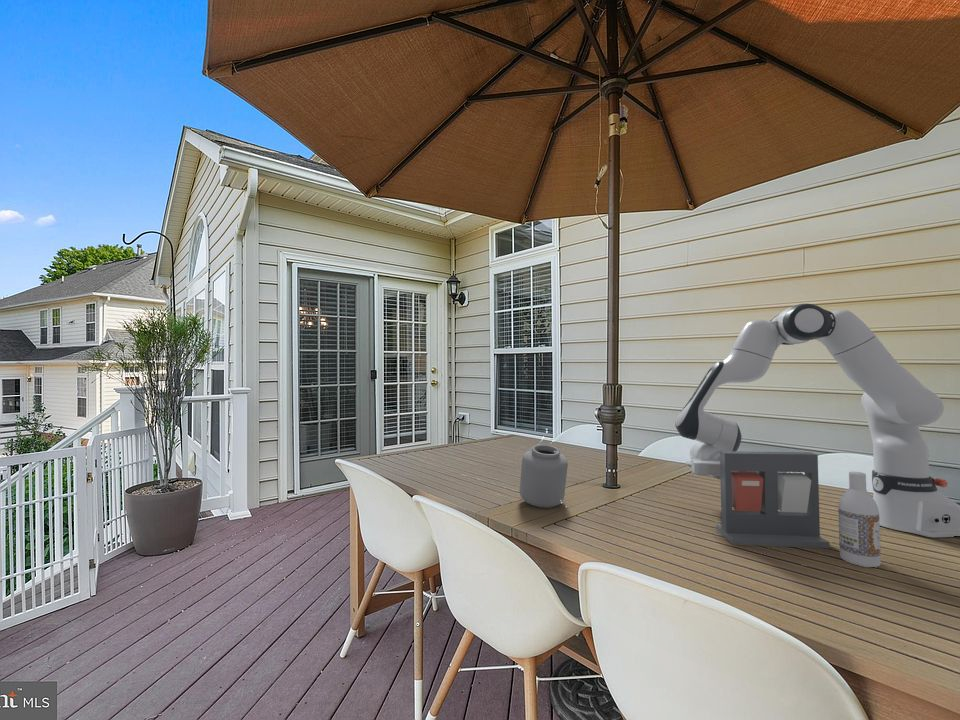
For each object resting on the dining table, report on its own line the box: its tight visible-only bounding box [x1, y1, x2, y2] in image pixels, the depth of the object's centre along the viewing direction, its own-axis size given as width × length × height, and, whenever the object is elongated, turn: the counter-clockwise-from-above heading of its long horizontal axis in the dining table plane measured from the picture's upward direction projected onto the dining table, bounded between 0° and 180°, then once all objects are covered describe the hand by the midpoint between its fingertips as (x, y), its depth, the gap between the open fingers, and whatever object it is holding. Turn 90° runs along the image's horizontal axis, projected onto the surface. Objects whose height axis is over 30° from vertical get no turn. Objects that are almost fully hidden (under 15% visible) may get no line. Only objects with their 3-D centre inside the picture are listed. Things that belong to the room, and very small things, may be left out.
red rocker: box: [731, 471, 763, 511], centre depth 112 cm, size 6×4×9 cm
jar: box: [519, 428, 569, 509], centre depth 141 cm, size 19×15×25 cm
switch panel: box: [715, 450, 830, 549], centre depth 111 cm, size 22×10×22 cm, turn 82°
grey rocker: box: [777, 472, 811, 513], centre depth 110 cm, size 6×4×9 cm, turn 82°
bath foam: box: [837, 471, 882, 568], centre depth 98 cm, size 7×7×20 cm
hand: (742, 473), depth 113 cm, fingers closed, pressing on red rocker
